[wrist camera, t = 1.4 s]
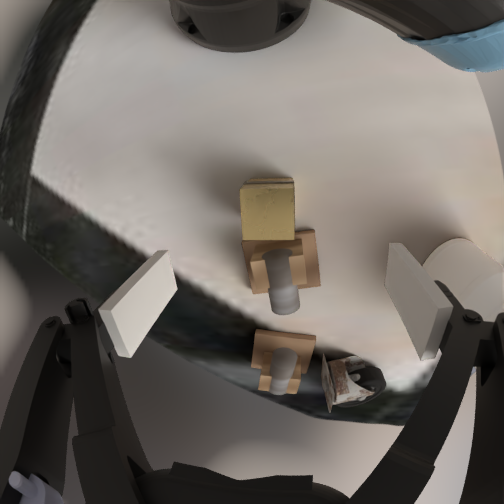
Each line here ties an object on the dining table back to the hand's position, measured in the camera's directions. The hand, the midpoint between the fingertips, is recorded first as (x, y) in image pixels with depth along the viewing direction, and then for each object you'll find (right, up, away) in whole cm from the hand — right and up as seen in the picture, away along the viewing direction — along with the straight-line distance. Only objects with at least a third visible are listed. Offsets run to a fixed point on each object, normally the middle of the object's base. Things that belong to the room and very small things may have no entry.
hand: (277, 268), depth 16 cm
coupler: (+1, +7, +13) cm, 15 cm away
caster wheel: (+14, -17, +22) cm, 31 cm away
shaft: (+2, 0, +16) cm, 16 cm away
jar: (+25, -3, +14) cm, 29 cm away
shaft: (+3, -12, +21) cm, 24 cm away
